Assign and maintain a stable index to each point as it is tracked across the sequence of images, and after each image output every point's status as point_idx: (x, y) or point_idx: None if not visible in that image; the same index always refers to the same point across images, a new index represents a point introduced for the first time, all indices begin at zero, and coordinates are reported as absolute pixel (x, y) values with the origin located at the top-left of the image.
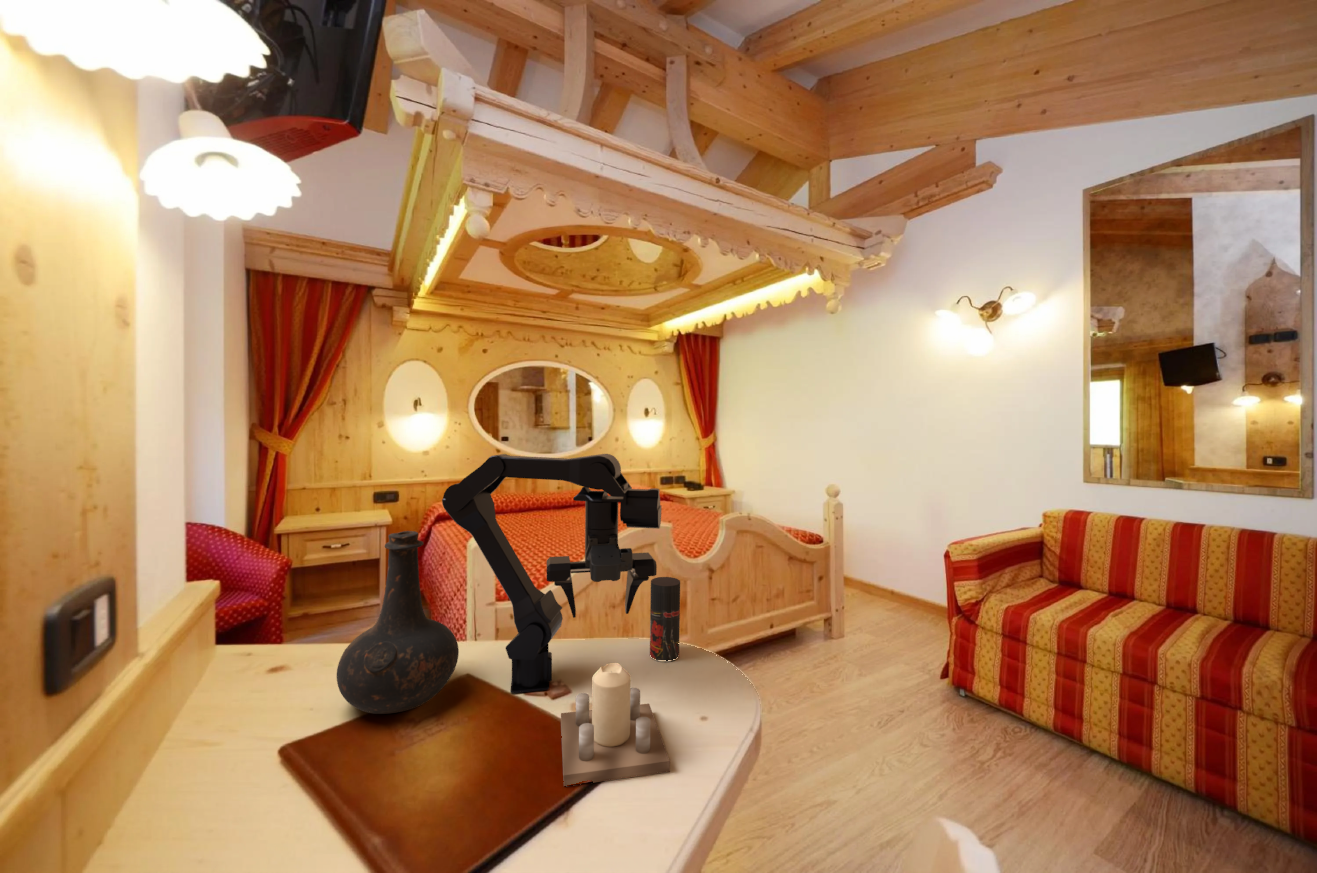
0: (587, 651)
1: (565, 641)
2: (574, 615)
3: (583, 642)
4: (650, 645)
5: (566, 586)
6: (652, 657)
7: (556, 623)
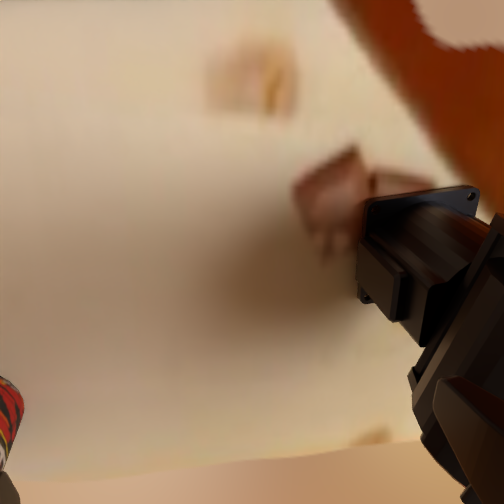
0: (238, 409)
1: (299, 449)
2: (461, 385)
3: (249, 449)
4: (6, 428)
5: None
6: (7, 386)
7: (482, 378)
